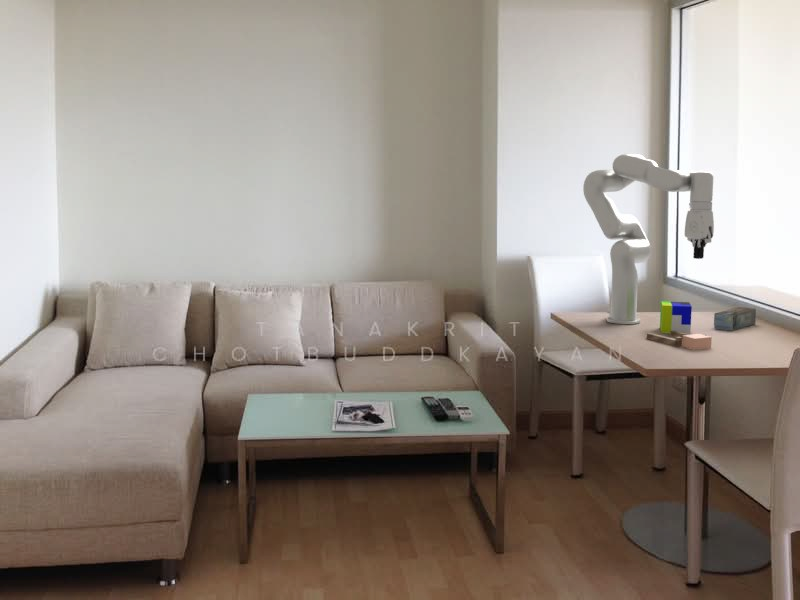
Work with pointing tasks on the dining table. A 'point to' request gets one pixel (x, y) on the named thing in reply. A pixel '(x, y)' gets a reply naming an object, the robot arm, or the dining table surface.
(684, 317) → the puzzle toy
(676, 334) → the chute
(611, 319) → the robot arm
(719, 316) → the beverage carton
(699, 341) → the block
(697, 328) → the dining table surface
